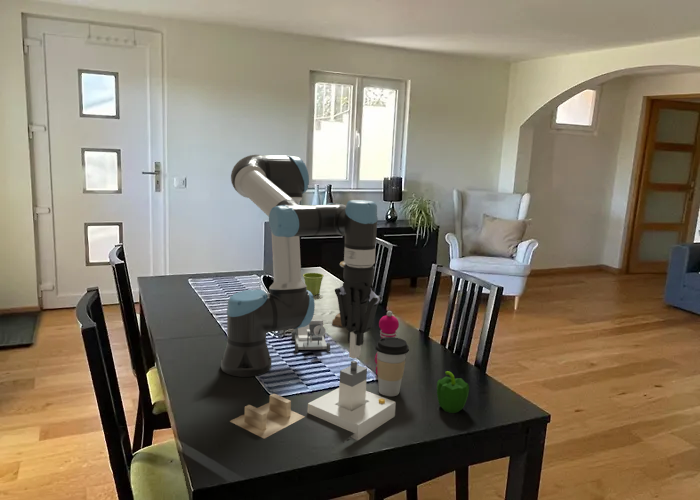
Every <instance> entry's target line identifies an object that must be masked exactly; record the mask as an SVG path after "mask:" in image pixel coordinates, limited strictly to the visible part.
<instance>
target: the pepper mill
mask: <svg viewBox="0 0 700 500" xmlns="http://www.w3.org/2000/svg"><path fill="white" fill-rule="evenodd" d="M399 327H400V323H399V319H398V318H397V317H396V316H394V315H393V311H391V310H388V311H387V312H386V315H383V316H382V317H381V318H380V319H379V321H378V328H379V329H380V330H379V333H380V334H379V336H380V339H381V338H385V337H395V338H397V333H398V332H397V330H398V329H399ZM374 363H375V365H376V366H375V374H376V375H377V376H378V373H377V352H376V354H375V356H374Z"/></svg>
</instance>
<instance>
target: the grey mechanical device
mask: <svg viewBox="0 0 700 500" xmlns="http://www.w3.org/2000/svg"><path fill="white" fill-rule="evenodd" d="M326 332H327V331H326V328H325V326H324V320H323V319H312V320H311V322H310V323H309V324H308V325H307V326H305V327H301V328H297V329H293V330H292V331H291V339H292V340H295V341H294V342H295V344H294V352H298V353H299V350H300V351H301V350H302V351H303V350H304V351H306V350H309V351H311V350H313V351H314V350H326V352H327V351H330V352H331V343H330V342H326V340H325V339H326ZM324 338H325V339H324Z"/></svg>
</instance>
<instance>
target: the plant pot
mask: <svg viewBox="0 0 700 500" xmlns="http://www.w3.org/2000/svg"><path fill="white" fill-rule="evenodd" d="M302 276H303V279H304V284H305V285H306V287H307V290H308V291H310V292H311V293H312V295H313V296H316V295H319V294H320V291H321V286H322V282H323V279H324V274H322V273H319V272H306V273H303V275H302Z"/></svg>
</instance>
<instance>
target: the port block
mask: <svg viewBox="0 0 700 500" xmlns="http://www.w3.org/2000/svg"><path fill="white" fill-rule="evenodd" d="M396 405H397V404H396V401H394V400H392V399H388V398H387V397H383V396H381V395H378V394H376V393H373V392H370V391H367V390H366V397H365V404H364V405H362V406H360V407H359V408H357V409H355V410H353V411H350V410H347V409H345V408H342V407H340V406H339V387H337V388H336V389H333V390H332V391H330V392H328V393H326V394H324V395H322V396H320V397H317V398H316V399H314V400H312V401H309V402H308V403H307V414H310V415H312V416H314V417H315V418H316V417H317V418H319V419H321V420H323V421H325V422H328V423H330V424H332V425H335V426H337V427H339V428H342V429H344V430H345V431H349V432H351V433H352V434H351V435H350V436H349V438H351V439H353V440H355V441H359V440H362V438H364V437H366V436H367V435H368V434H370V433H372V432H373V431H375V430H376V429H377V428H379V427H380V426H382V425H384V424H385V423H387V422H388V421H390V420H391V419H393V418H395V416H396Z"/></svg>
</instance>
